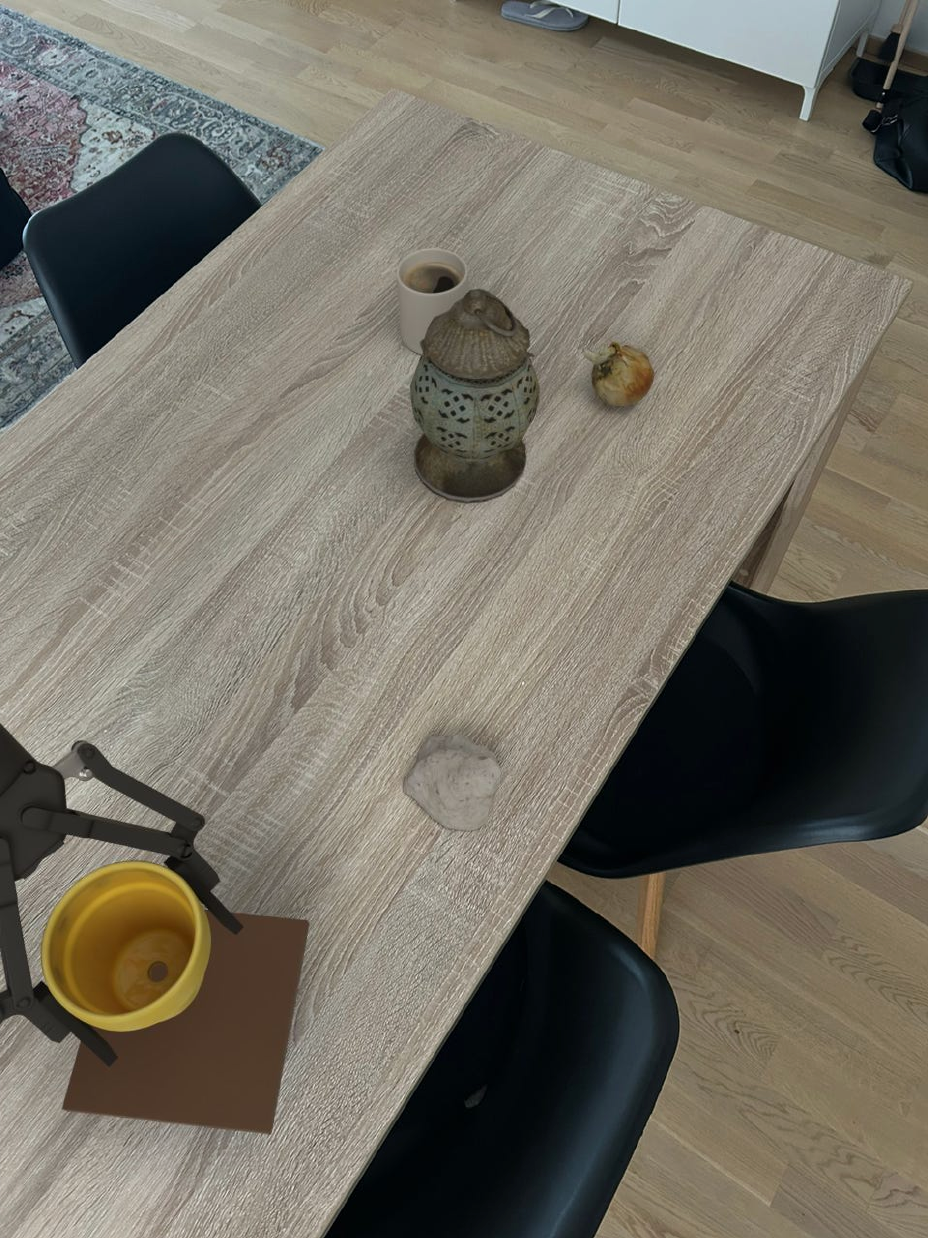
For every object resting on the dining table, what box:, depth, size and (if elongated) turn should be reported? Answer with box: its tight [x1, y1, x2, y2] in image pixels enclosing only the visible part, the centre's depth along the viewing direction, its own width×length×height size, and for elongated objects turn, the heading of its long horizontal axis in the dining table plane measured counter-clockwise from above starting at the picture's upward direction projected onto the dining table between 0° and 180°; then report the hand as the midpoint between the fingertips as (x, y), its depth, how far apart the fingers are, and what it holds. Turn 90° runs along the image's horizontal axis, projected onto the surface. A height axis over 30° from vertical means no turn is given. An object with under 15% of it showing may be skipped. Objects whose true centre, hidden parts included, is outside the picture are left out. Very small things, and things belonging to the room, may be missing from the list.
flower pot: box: [40, 859, 211, 1032], centre depth 71 cm, size 10×10×10 cm
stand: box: [61, 909, 310, 1136], centre depth 86 cm, size 16×16×9 cm
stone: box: [402, 734, 503, 832], centre depth 101 cm, size 10×5×10 cm
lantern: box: [409, 288, 541, 504], centre depth 114 cm, size 14×14×25 cm
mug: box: [395, 247, 469, 356], centre depth 133 cm, size 11×10×10 cm
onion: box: [582, 341, 655, 407], centre depth 127 cm, size 8×8×8 cm
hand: (173, 988), depth 70 cm, fingers closed on flower pot, 10 cm apart
